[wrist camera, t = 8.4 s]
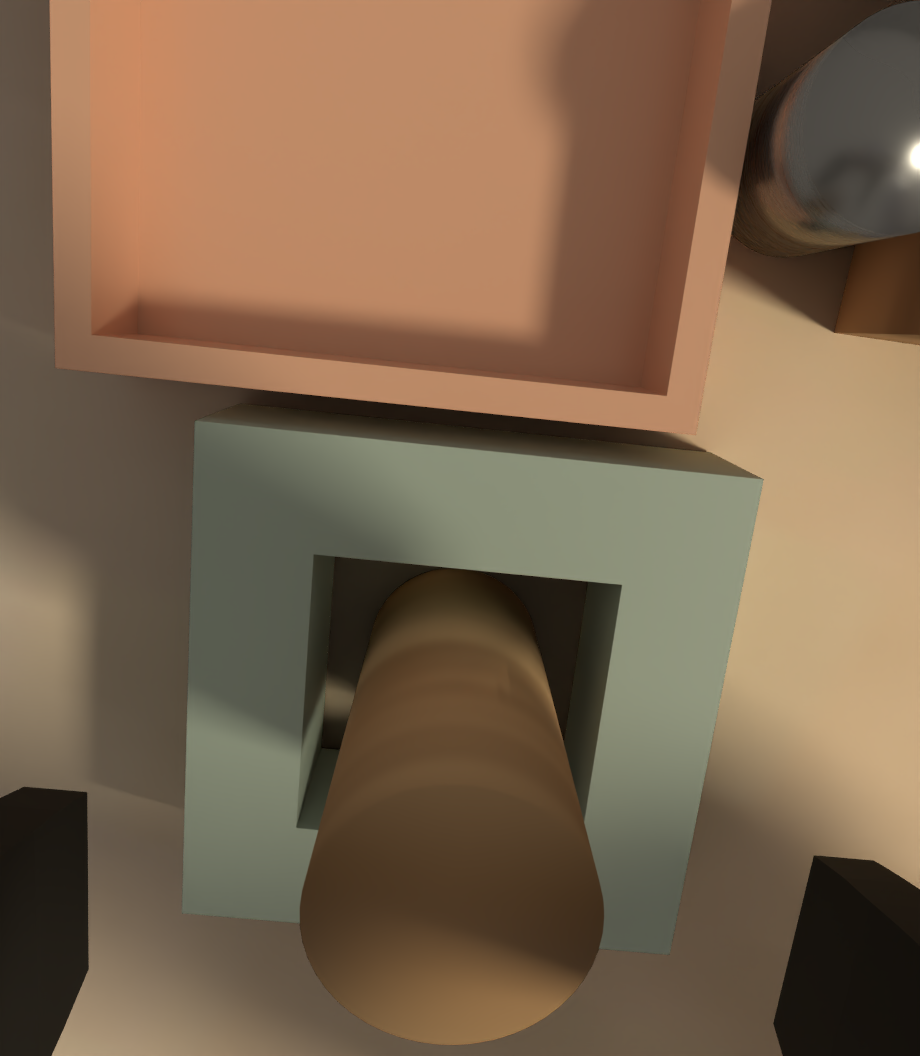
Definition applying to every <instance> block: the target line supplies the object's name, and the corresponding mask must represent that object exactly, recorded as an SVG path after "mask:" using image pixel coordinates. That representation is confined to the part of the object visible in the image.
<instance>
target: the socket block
mask: <svg viewBox="0 0 920 1056" xmlns="http://www.w3.org/2000/svg"><path fill="white" fill-rule="evenodd" d="M763 480H764V479H762V478H760V477H758V476H756V475H754V474H752V473H750V472H748V471H746V470H744V469H742V468H740V467H738V466H736V465H734V464H732V463H730V462H728V461H726V460H724V459H722V458H720V457H718V456H716V455H714V454H712V453H710V452H701V451H692V450H682V449H673V448H663V447H653V446H644V445H634V444H625V443H615V442H605V441H596V440H586V439H577V438H567V437H557V436H548V435H538V434H529V433H519V432H509V431H500V430H490V429H480V428H471V427H461V426H452V425H442V424H432V423H423V422H413V421H404V420H394V419H384V418H375V417H365V416H356V415H346V414H336V413H327V412H317V411H307V410H298V409H288V408H279V407H269V406H259V405H250V404H238V405H236V406H233V407H230V408H228V409H225V410H222V411H219V412H217V413H214V414H211V415H209V416H206V417H203V418H201V419H198V420H195V429H194V467H193V505H192V544H191V582H190V620H189V659H188V697H187V735H186V774H185V812H184V850H183V888H182V913H184V914H195V915H207V916H219V917H231V918H242V919H254V920H266V921H277V922H289V923H300V901H301V894H302V889H303V885H304V881H305V878H306V874H307V870H308V867H309V863H310V859H311V855H312V852H313V848H314V844H315V841H316V837H317V833H318V829H319V826H320V822H321V818H322V815H323V811H324V807H325V804H326V800H327V796H328V792H329V789H330V785H331V781H332V778H333V774H334V770H335V766H336V763H337V759H338V755H339V752H340V750H336V749H325V748H321V747H322V733H323V719H324V704H325V690H326V676H327V662H328V647H329V633H330V619H331V605H332V591H333V576H334V562H335V557H346V558H356V559H366V560H376V561H386V562H396V563H406V564H416V565H427V566H437V567H447V568H457V569H467V570H477V571H487V572H497V573H507V574H518V575H528V576H538V577H548V578H558V579H568V580H578V581H588V585H587V592H586V599H585V605H584V612H583V619H582V625H581V632H580V639H579V645H578V652H577V659H576V666H575V672H574V679H573V686H572V692H571V699H570V706H569V712H568V719H567V726H566V732H565V739H564V746H565V750H566V754H567V758H568V762H569V766H570V769H571V773H572V777H573V781H574V785H575V789H576V793H577V797H578V800H579V804H580V808H581V812H582V816H583V820H584V824H585V827H586V831H587V835H588V839H589V843H590V847H591V851H592V855H593V858H594V862H595V866H596V870H597V874H598V878H599V882H600V886H601V891H602V895H603V902H604V926H603V934H602V938H601V942H600V946H599V949H606V950H618V951H629V952H641V953H653V954H665V955H670V951H671V946H672V941H673V936H674V931H675V926H676V920H677V915H678V910H679V905H680V900H681V895H682V890H683V885H684V880H685V875H686V870H687V865H688V860H689V855H690V850H691V845H692V839H693V834H694V829H695V824H696V819H697V814H698V809H699V804H700V799H701V794H702V789H703V784H704V779H705V774H706V769H707V763H708V758H709V753H710V748H711V743H712V738H713V733H714V728H715V723H716V718H717V713H718V708H719V703H720V698H721V693H722V688H723V682H724V677H725V672H726V667H727V662H728V657H729V652H730V647H731V642H732V637H733V632H734V627H735V622H736V617H737V612H738V606H739V601H740V596H741V591H742V586H743V581H744V576H745V571H746V566H747V561H748V556H749V551H750V546H751V541H752V536H753V531H754V525H755V520H756V515H757V510H758V505H759V500H760V495H761V490H762V485H763Z"/></svg>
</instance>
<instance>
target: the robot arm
mask: <svg viewBox="0 0 920 1056" xmlns="http://www.w3.org/2000/svg"><path fill="white" fill-rule="evenodd" d="M88 969H89V966H88V837H87V792H77V791H66V790H54V789H43V788H31V787H23V788H21V789H19V790H16V791H14V792H12V793H10V794H8V795H6V796H4V797H2V798H0V1056H51V1055H52V1053H53V1051H54V1049H55V1046H56V1044H57V1042H58V1040H59V1038H60V1035H61V1033H62V1031H63V1029H64V1026H65V1024H66V1021H67V1019H68V1017H69V1014H70V1012H71V1010H72V1007H73V1005H74V1002H75V1000H76V998H77V995H78V993H79V990H80V988H81V986H82V983H83V981H84V979H85V976H86V974H87V971H88ZM773 1024H774V1027H775V1031H776V1034H777V1037H778V1041H779V1044H780V1048H781V1051H782V1054H783V1056H920V889H918V888H917V887H915V886H914V885H912V884H911V883H909V882H908V881H906V880H905V879H903V878H901V877H900V876H898V875H897V874H895V873H894V872H892V871H890V870H889V869H887V868H885V867H884V866H882V865H880V864H879V863H877V862H875V861H871V860H860V859H848V858H837V857H825V856H814V857H813V862H812V866H811V870H810V874H809V878H808V882H807V886H806V891H805V895H804V899H803V903H802V907H801V911H800V915H799V920H798V924H797V928H796V932H795V936H794V940H793V944H792V949H791V953H790V957H789V961H788V965H787V969H786V973H785V978H784V982H783V986H782V990H781V994H780V998H779V1002H778V1007H777V1011H776V1015H775V1019H774V1023H773Z"/></svg>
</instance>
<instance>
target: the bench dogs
mask: <svg viewBox="0 0 920 1056" xmlns="http://www.w3.org/2000/svg"><path fill="white" fill-rule="evenodd" d="M917 232H920V0H917V1H908V2H904V3H900V4H896V5H893V6H891V7H888V8H886V9H883V10H881V11H879V12H877V13H875V14H873V15H872V16H870V17H868V18H866V19H865V20H864V21H862V22H861V23H860V24H858V25H857V26H855V27H854V28H853V29H851V30H850V31H849V32H847V33H846V34H845V35H843V36H842V37H841V38H839V39H838V40H837V41H835V42H834V43H833V44H831V45H830V46H829V47H827V48H826V49H824V50H823V51H822V52H820V53H819V54H818V55H816V56H815V57H814V58H812V59H811V60H810V61H808V62H807V63H806V64H804V65H803V66H802V67H800V68H799V69H798V70H796V71H795V72H794V73H792V74H791V75H790V76H788V77H787V78H785V79H784V80H783V81H781V82H780V83H779V84H777V85H776V86H775V87H773V88H772V89H771V90H769V91H768V92H767V93H765V94H764V95H763V96H761V97H760V98H759V99H757V100H756V101H755V102H754V106H753V111H752V117H751V123H750V128H749V134H748V140H747V146H746V151H745V157H744V163H743V168H742V174H741V180H740V186H739V191H738V197H737V203H736V209H735V214H734V220H733V226H732V231H731V233H732V234H733V235H734V236H735V237H736V238H737V239H738V240H739V241H740V242H741V243H743V244H744V245H746V246H747V247H748V248H750V249H752V250H754V251H756V252H759V253H762V254H765V255H769V256H774V257H795V256H801V255H806V254H811V253H816V252H821V251H826V250H831V249H836V248H842V247H847V246H852V245H857V244H862V243H867V242H872V241H877V240H882V239H887V238H892V237H897V236H902V235H907V234H912V233H917Z"/></svg>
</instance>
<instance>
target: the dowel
mask: <svg viewBox="0 0 920 1056" xmlns="http://www.w3.org/2000/svg"><path fill="white" fill-rule="evenodd" d="M603 926H604V902H603V895H602V891H601V886H600V882H599V878H598V874H597V870H596V866H595V862H594V858H593V855H592V851H591V847H590V843H589V839H588V835H587V831H586V827H585V824H584V820H583V816H582V812H581V808H580V804H579V800H578V797H577V793H576V789H575V785H574V781H573V777H572V773H571V769H570V766H569V762H568V758H567V754H566V750H565V746H564V742H563V739H562V735H561V731H560V727H559V723H558V719H557V715H556V711H555V708H554V704H553V700H552V696H551V692H550V688H549V684H548V680H547V677H546V673H545V669H544V665H543V661H542V657H541V653H540V650H539V646H538V642H537V638H536V634H535V630H534V626H533V623H532V620H531V618H530V615H529V613H528V611H527V610H526V608H525V606H524V605H523V603H522V602H521V600H520V599H519V598H518V597H517V596H516V595H515V594H514V592H513V591H512V590H511V589H509V588H508V587H507V586H505V585H504V584H503V583H501V582H500V581H498V580H496V579H495V578H493V577H491V576H488V575H486V574H484V573H481V572H477V571H474V570H467V569H457V568H446V569H438V570H433V571H429V572H426V573H423V574H421V575H418V576H416V577H414V578H412V579H410V580H408V581H407V582H406V583H404V584H403V585H401V586H400V587H399V588H398V589H396V590H395V591H394V592H393V593H392V594H391V595H390V597H389V598H388V599H387V600H386V601H385V603H384V604H383V606H382V607H381V609H380V611H379V613H378V615H377V617H376V619H375V623H374V626H373V629H372V633H371V637H370V640H369V644H368V648H367V652H366V655H365V659H364V663H363V666H362V670H361V674H360V677H359V681H358V685H357V689H356V692H355V696H354V700H353V703H352V707H351V711H350V715H349V718H348V722H347V726H346V729H345V733H344V737H343V740H342V744H341V748H340V752H339V755H338V759H337V763H336V766H335V770H334V774H333V778H332V781H331V785H330V789H329V792H328V796H327V800H326V804H325V807H324V811H323V815H322V818H321V822H320V826H319V829H318V833H317V837H316V841H315V844H314V848H313V852H312V855H311V859H310V863H309V867H308V870H307V874H306V878H305V881H304V885H303V889H302V894H301V901H300V930H301V936H302V942H303V945H304V948H305V951H306V954H307V957H308V959H309V961H310V963H311V965H312V967H313V969H314V971H315V973H316V975H317V976H318V978H319V979H320V981H321V982H322V984H323V985H324V987H325V988H326V989H327V990H328V991H329V992H330V994H331V995H332V996H333V997H334V998H335V999H336V1000H337V1001H338V1002H339V1003H340V1004H341V1005H343V1006H344V1007H345V1008H346V1009H347V1010H348V1011H350V1012H351V1013H352V1014H354V1015H355V1016H357V1017H358V1018H360V1019H361V1020H363V1021H364V1022H366V1023H368V1024H370V1025H372V1026H374V1027H376V1028H378V1029H380V1030H382V1031H384V1032H387V1033H389V1034H392V1035H395V1036H398V1037H400V1038H404V1039H408V1040H413V1041H417V1042H422V1043H430V1044H438V1045H462V1044H475V1043H480V1042H486V1041H491V1040H495V1039H499V1038H502V1037H505V1036H508V1035H512V1034H514V1033H516V1032H519V1031H521V1030H523V1029H525V1028H528V1027H530V1026H532V1025H533V1024H535V1023H537V1022H538V1021H540V1020H542V1019H544V1018H545V1017H547V1016H548V1015H549V1014H551V1013H552V1012H553V1011H555V1010H556V1009H557V1008H559V1007H560V1006H561V1005H562V1004H563V1003H564V1002H565V1001H566V1000H567V999H568V998H569V997H570V996H571V995H572V994H573V993H574V992H575V990H576V989H577V988H578V987H579V985H580V984H581V983H582V982H583V980H584V979H585V977H586V975H587V973H588V972H589V970H590V968H591V967H592V965H593V962H594V960H595V957H596V955H597V953H598V950H599V946H600V942H601V938H602V934H603Z"/></svg>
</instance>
